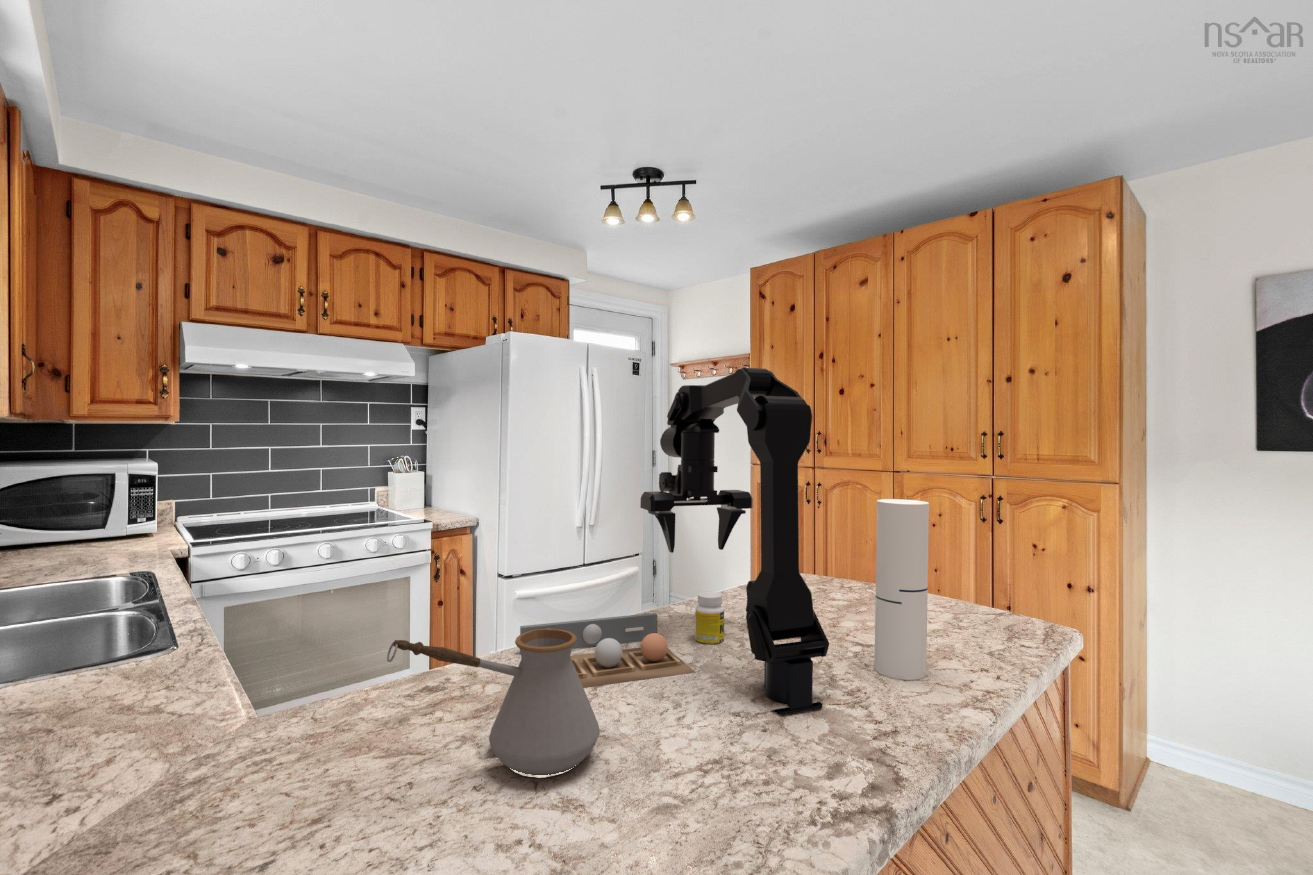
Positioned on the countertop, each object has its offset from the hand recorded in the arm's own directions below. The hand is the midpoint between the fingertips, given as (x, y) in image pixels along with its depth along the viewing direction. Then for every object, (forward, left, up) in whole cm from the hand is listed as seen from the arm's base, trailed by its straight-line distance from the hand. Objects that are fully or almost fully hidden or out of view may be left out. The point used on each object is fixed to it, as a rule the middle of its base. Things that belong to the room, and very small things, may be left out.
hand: (696, 550), depth 107 cm
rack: (-11, +19, -15) cm, 26 cm away
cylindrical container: (-24, -22, -15) cm, 36 cm away
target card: (-2, +19, -15) cm, 24 cm away
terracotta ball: (-11, +12, -14) cm, 21 cm away
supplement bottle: (-5, 0, -15) cm, 16 cm away
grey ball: (-11, +19, -14) cm, 26 cm away
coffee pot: (-32, +37, -15) cm, 51 cm away
